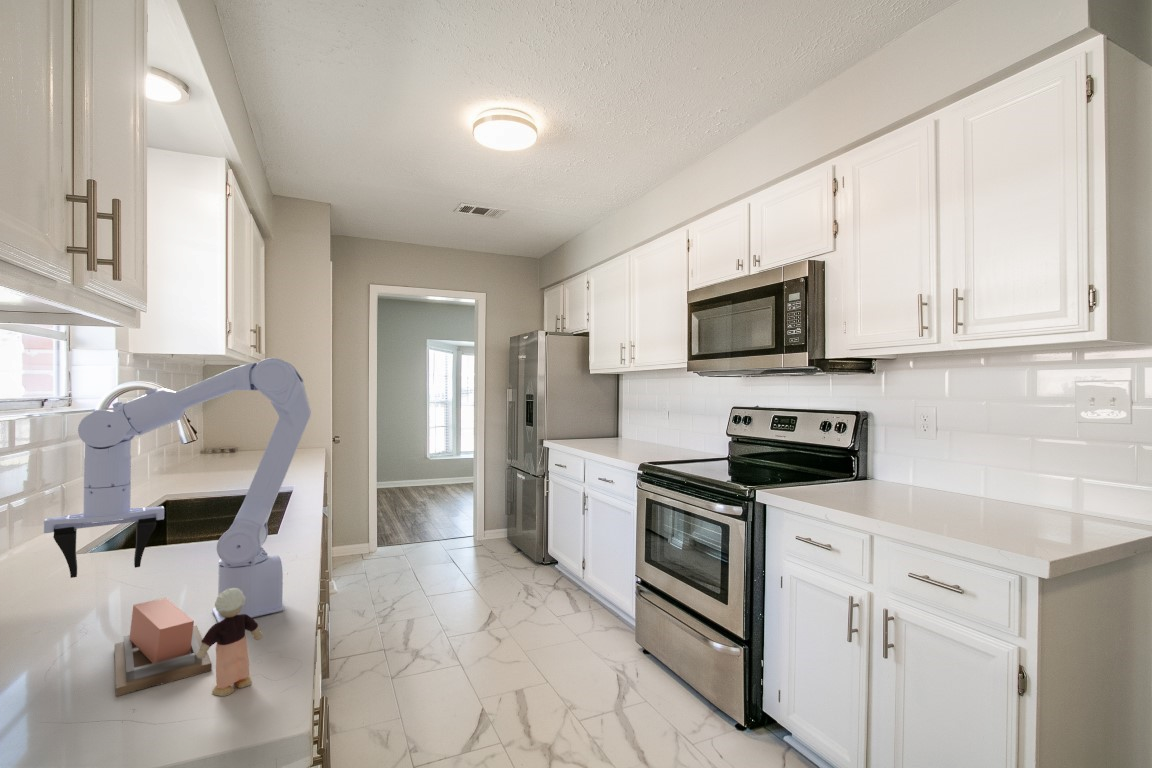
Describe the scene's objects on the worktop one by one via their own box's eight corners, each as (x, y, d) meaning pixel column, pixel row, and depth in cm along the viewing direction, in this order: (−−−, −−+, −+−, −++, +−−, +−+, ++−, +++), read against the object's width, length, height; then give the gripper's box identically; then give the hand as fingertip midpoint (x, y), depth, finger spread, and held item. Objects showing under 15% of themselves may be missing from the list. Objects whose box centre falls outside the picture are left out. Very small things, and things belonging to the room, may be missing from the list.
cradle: (196, 631, 88) (196, 617, 88) (211, 670, 75) (211, 654, 75) (114, 650, 81) (114, 635, 81) (116, 696, 69) (116, 678, 69)
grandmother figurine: (245, 672, 75) (246, 578, 75) (266, 677, 74) (267, 581, 74) (188, 701, 68) (189, 597, 68) (209, 708, 66) (210, 601, 67)
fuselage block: (162, 630, 83) (166, 597, 83) (189, 656, 77) (193, 620, 77) (129, 639, 80) (133, 604, 80) (155, 666, 74) (159, 629, 74)
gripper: (162, 477, 96) (161, 556, 96) (47, 486, 87) (45, 574, 87) (165, 482, 91) (164, 566, 91) (43, 493, 81) (41, 586, 81)
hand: (106, 570), depth 88 cm, fingers open, 7 cm apart
